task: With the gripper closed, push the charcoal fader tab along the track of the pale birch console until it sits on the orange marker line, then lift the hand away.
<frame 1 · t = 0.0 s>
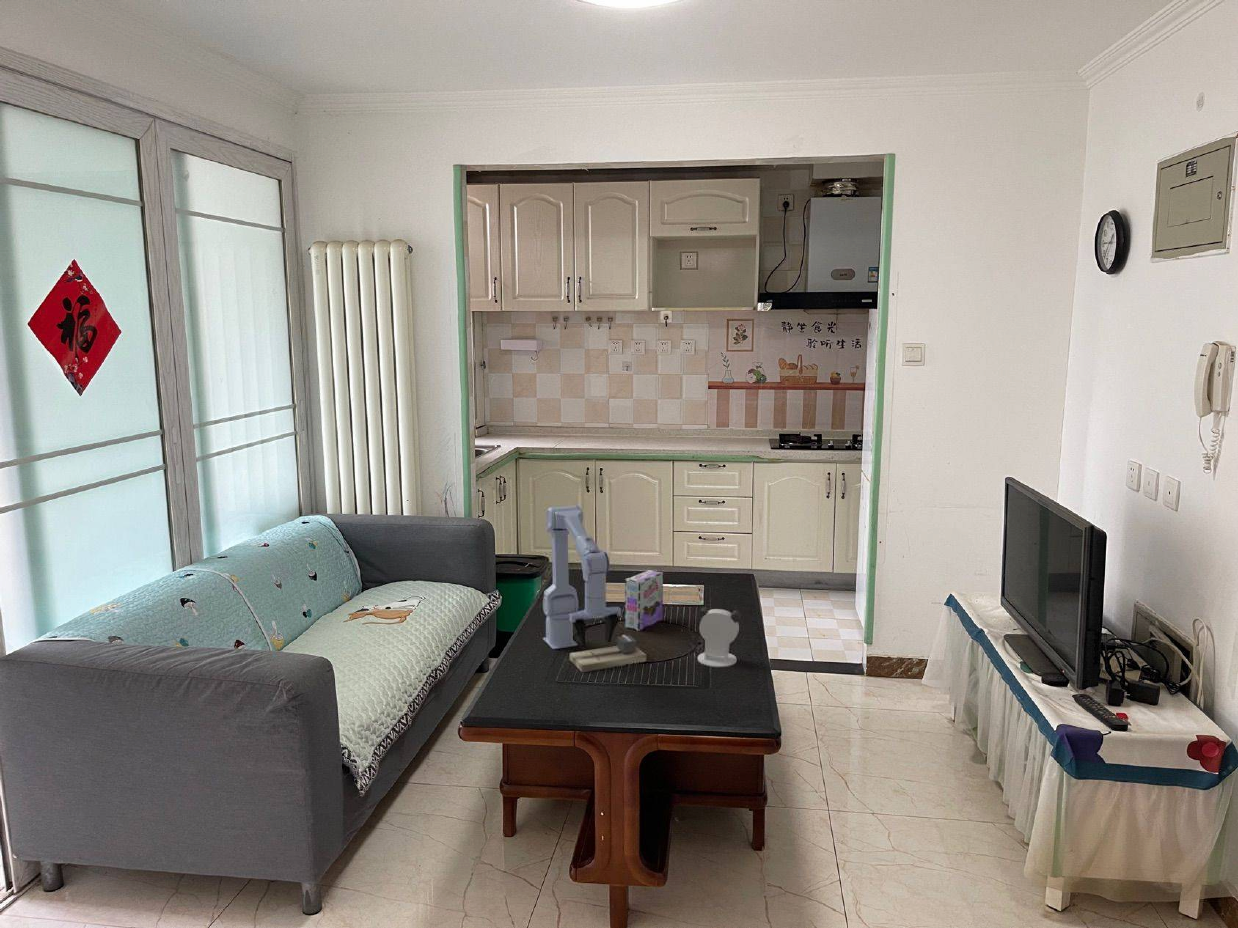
hand: (595, 643, 242), 10 cm above the table, tool pointing down, fingers open, 7 cm apart
fader tab: (626, 643, 258), point 4 cm above the table, slide at 0.0 cm
console: (607, 660, 256), on the table
candy box: (644, 624, 287), on the table
panda figurine: (718, 660, 257), on the table
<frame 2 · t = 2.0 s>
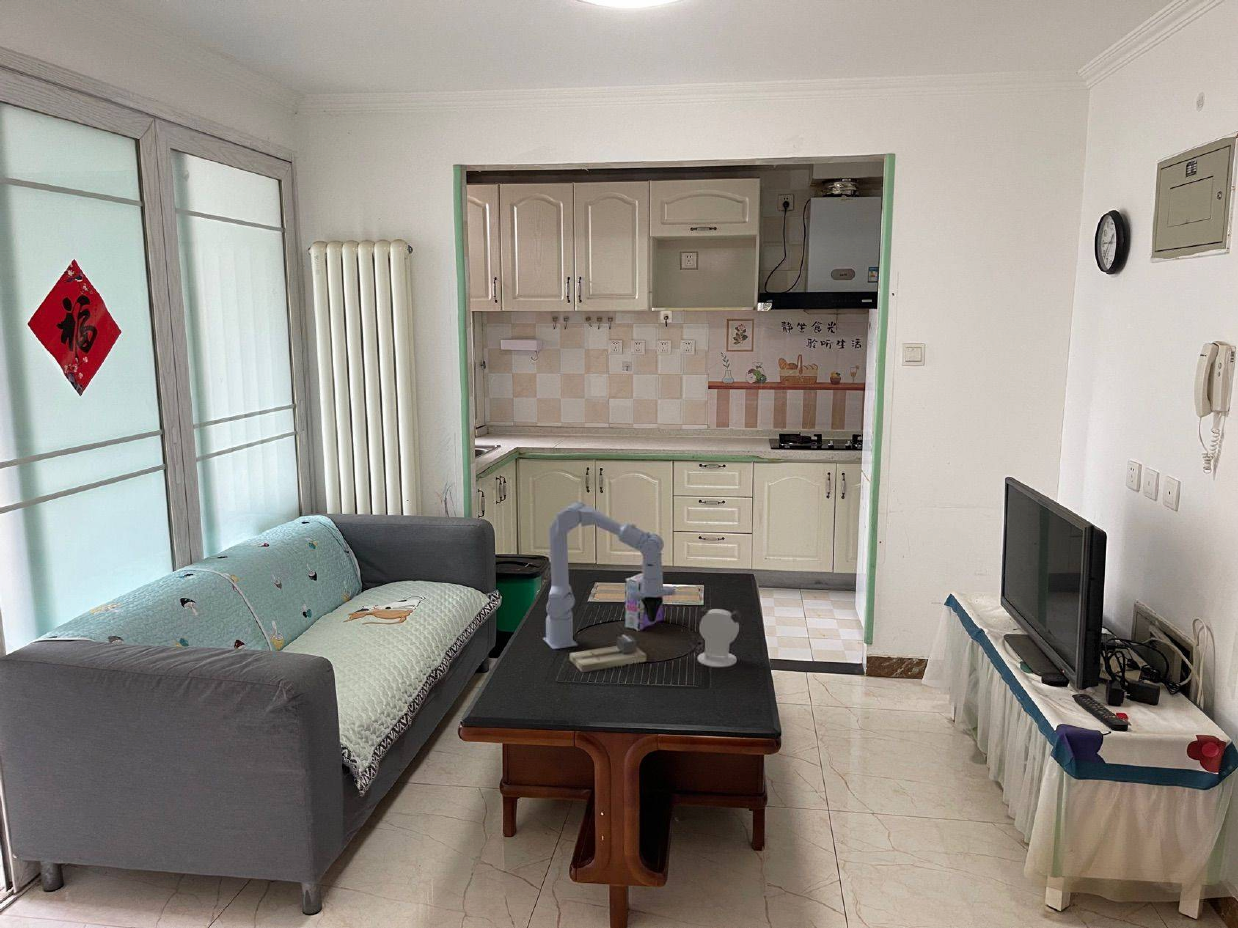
hand: (651, 620, 260), 10 cm above the table, tool pointing down, fingers closed
nothing on the table moved.
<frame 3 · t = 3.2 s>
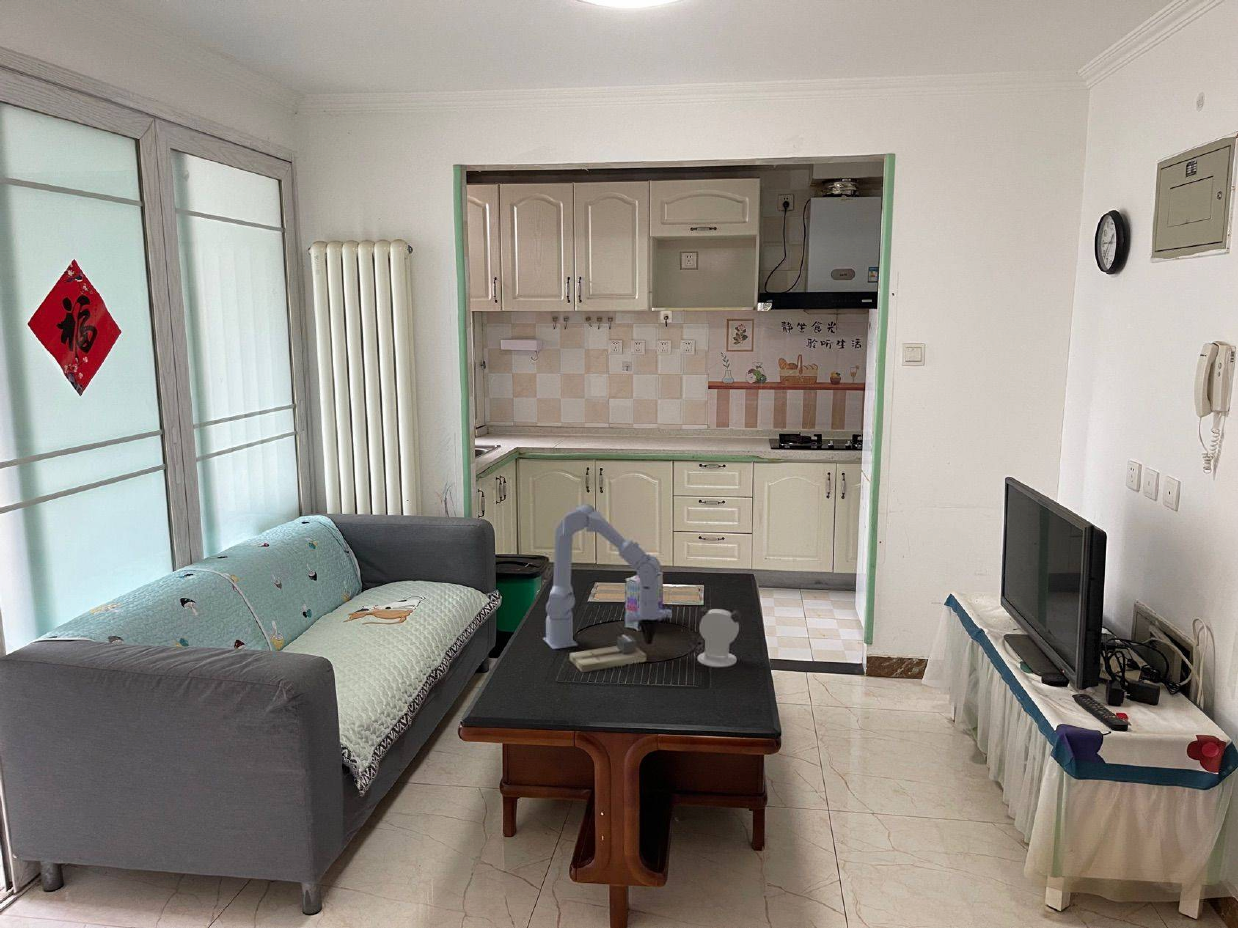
hand: (648, 642, 261), 3 cm above the table, tool pointing down, fingers closed
nothing on the table moved.
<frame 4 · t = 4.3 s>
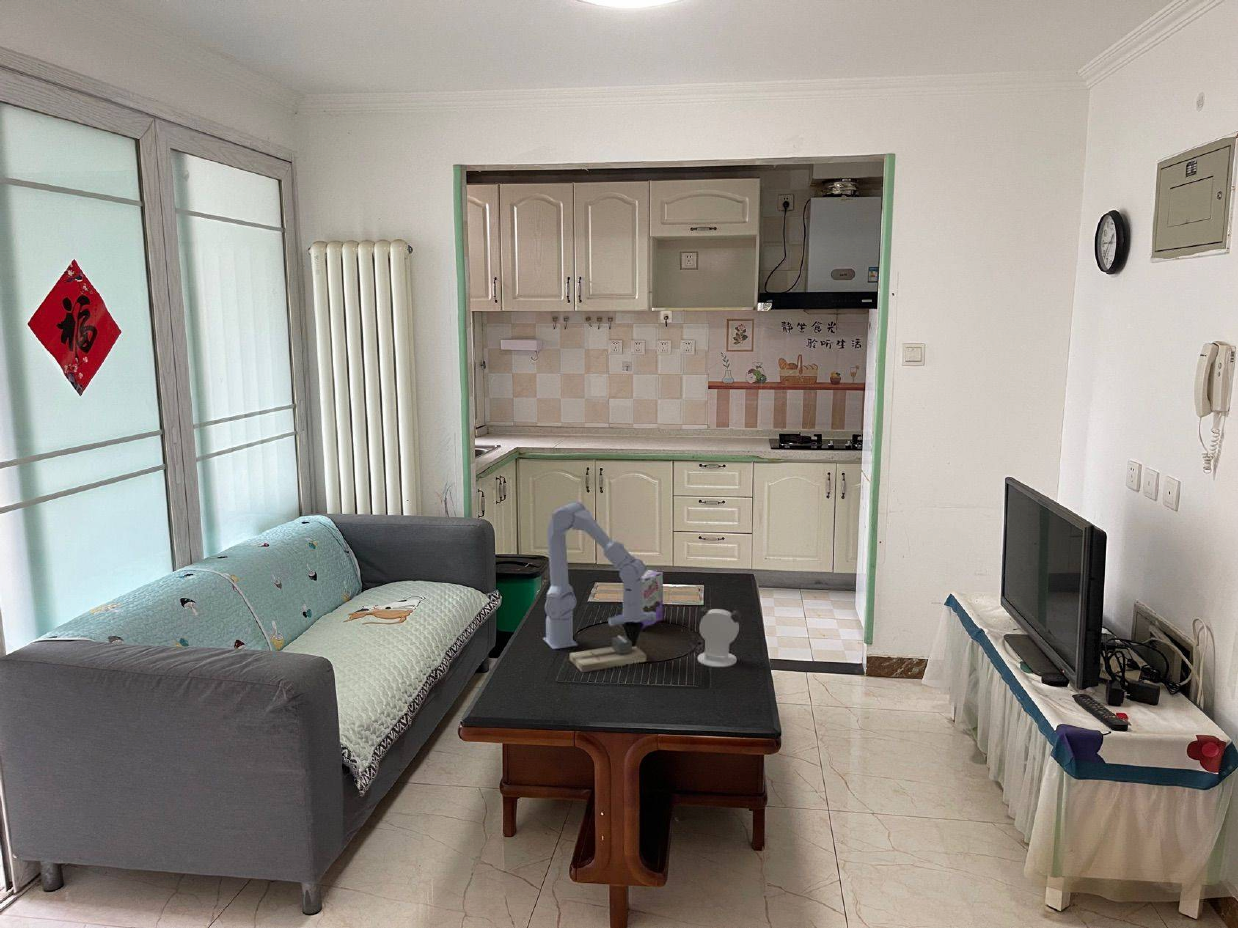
hand: (632, 645, 259), 3 cm above the table, tool pointing down, fingers closed
fader tab: (622, 644, 257), point 4 cm above the table, slide at 1.5 cm, touching gripper
everything else where it was.
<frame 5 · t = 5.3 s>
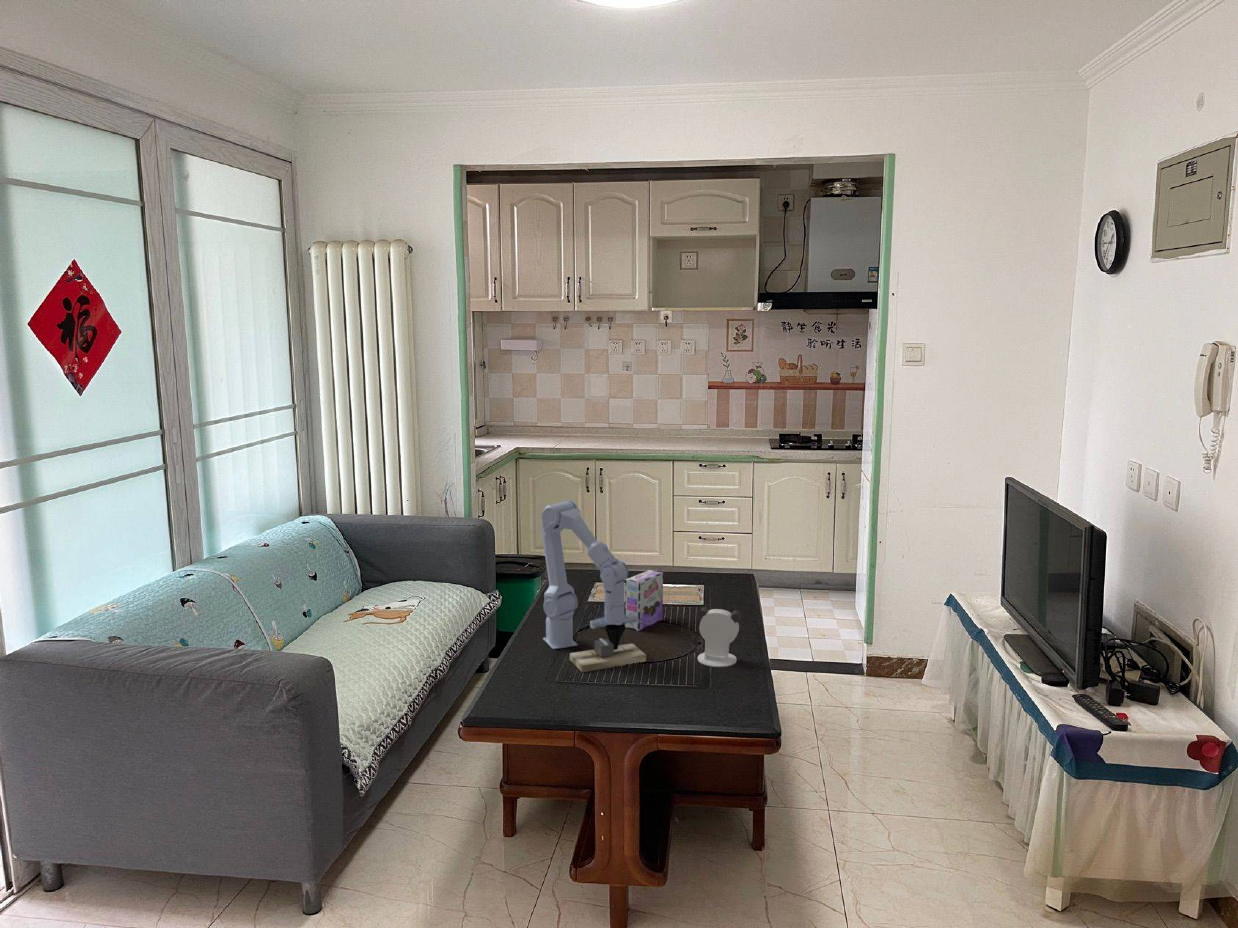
hand: (614, 648, 256), 3 cm above the table, tool pointing down, fingers closed
fader tab: (603, 647, 255), point 4 cm above the table, slide at 7.3 cm, touching gripper
everything else where it was.
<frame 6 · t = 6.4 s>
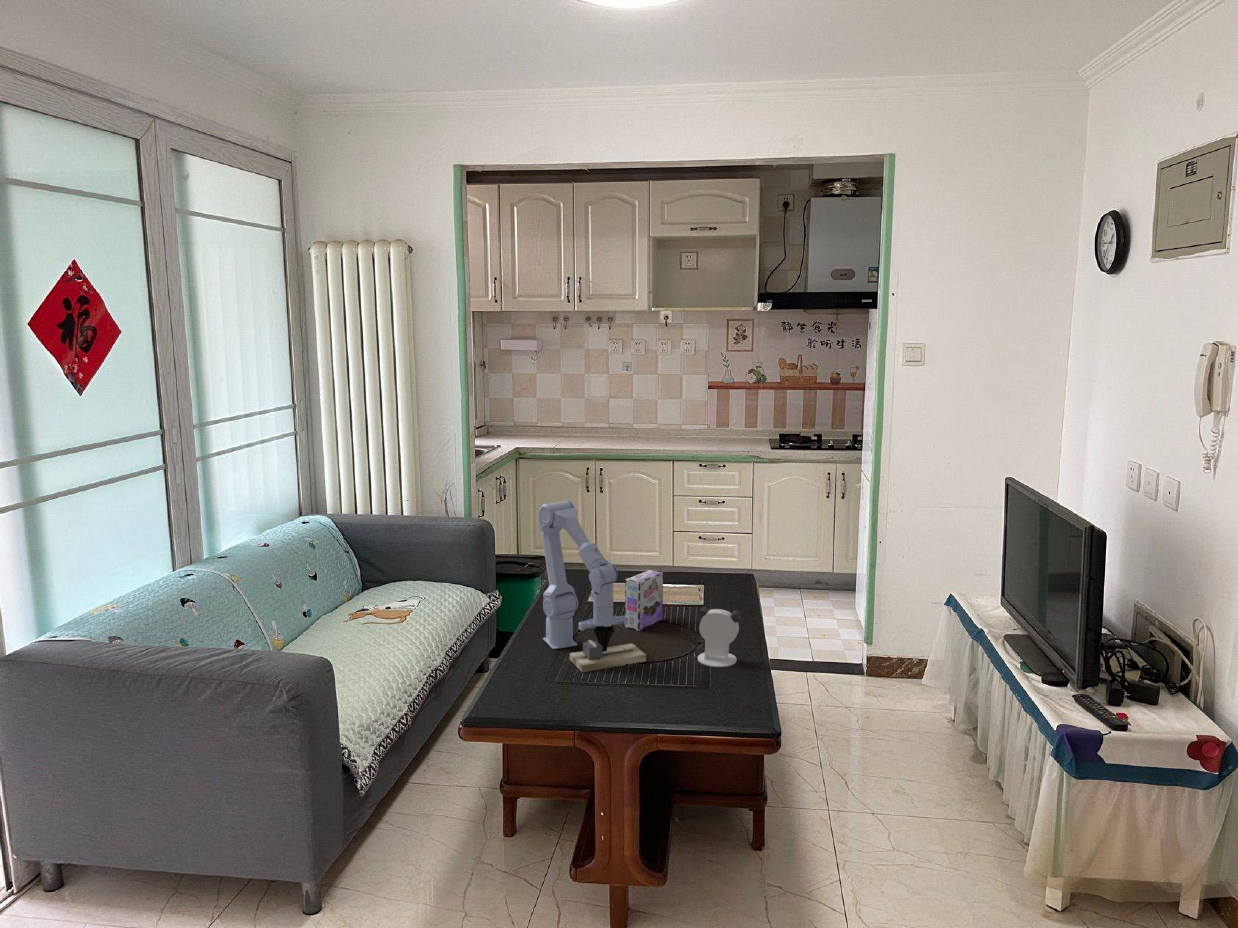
hand: (603, 650, 255), 3 cm above the table, tool pointing down, fingers closed
fader tab: (592, 648, 254), point 4 cm above the table, slide at 10.8 cm, touching gripper
everything else where it was.
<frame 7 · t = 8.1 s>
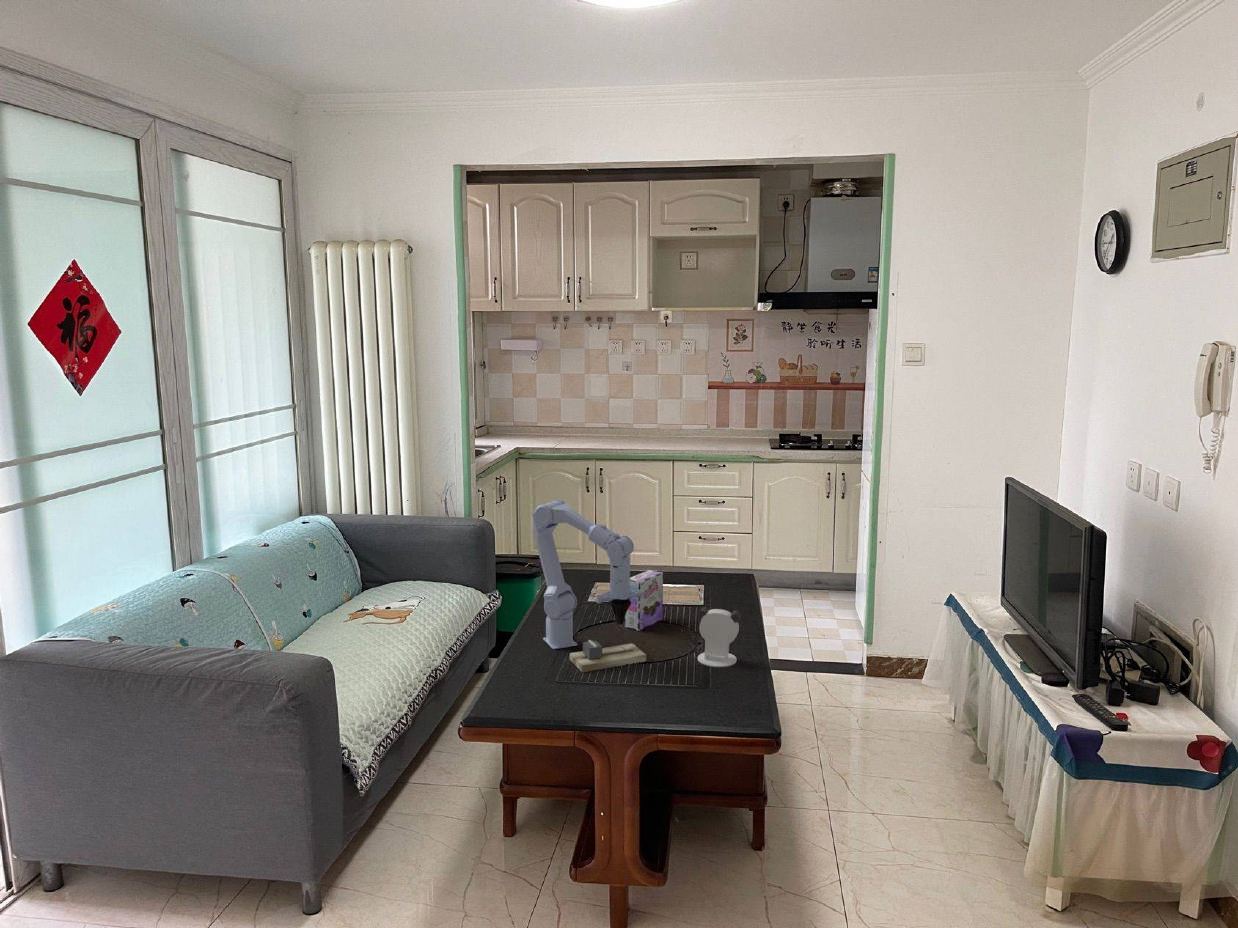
hand: (619, 623, 257), 10 cm above the table, tool pointing down, fingers closed
fader tab: (592, 648, 254), point 4 cm above the table, slide at 10.8 cm
everything else where it was.
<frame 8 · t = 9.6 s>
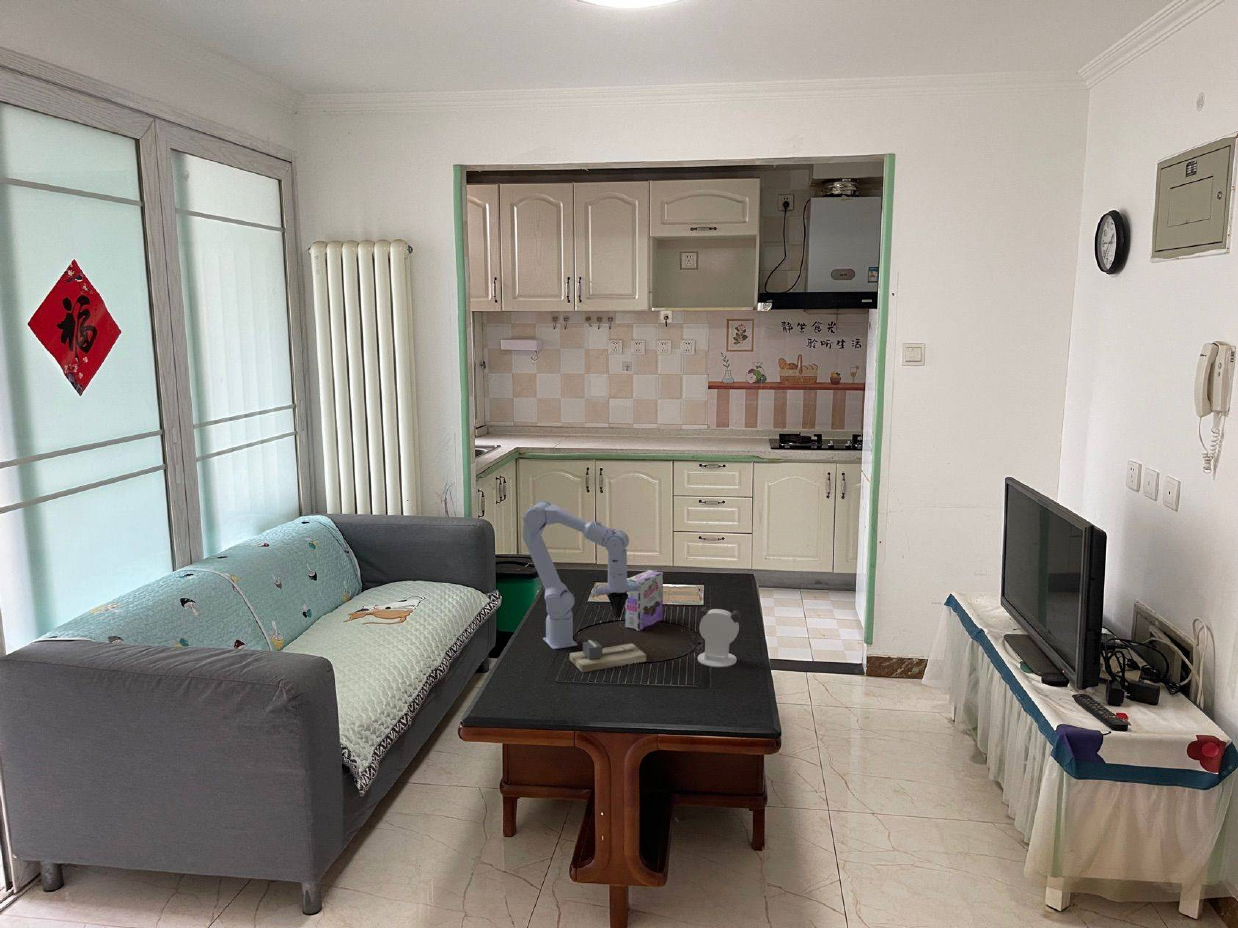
hand: (617, 616, 263), 10 cm above the table, tool pointing down, fingers closed
nothing on the table moved.
at the end: fader tab slide at 10.8 cm; panda figurine moved 0.2 cm from its start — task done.
